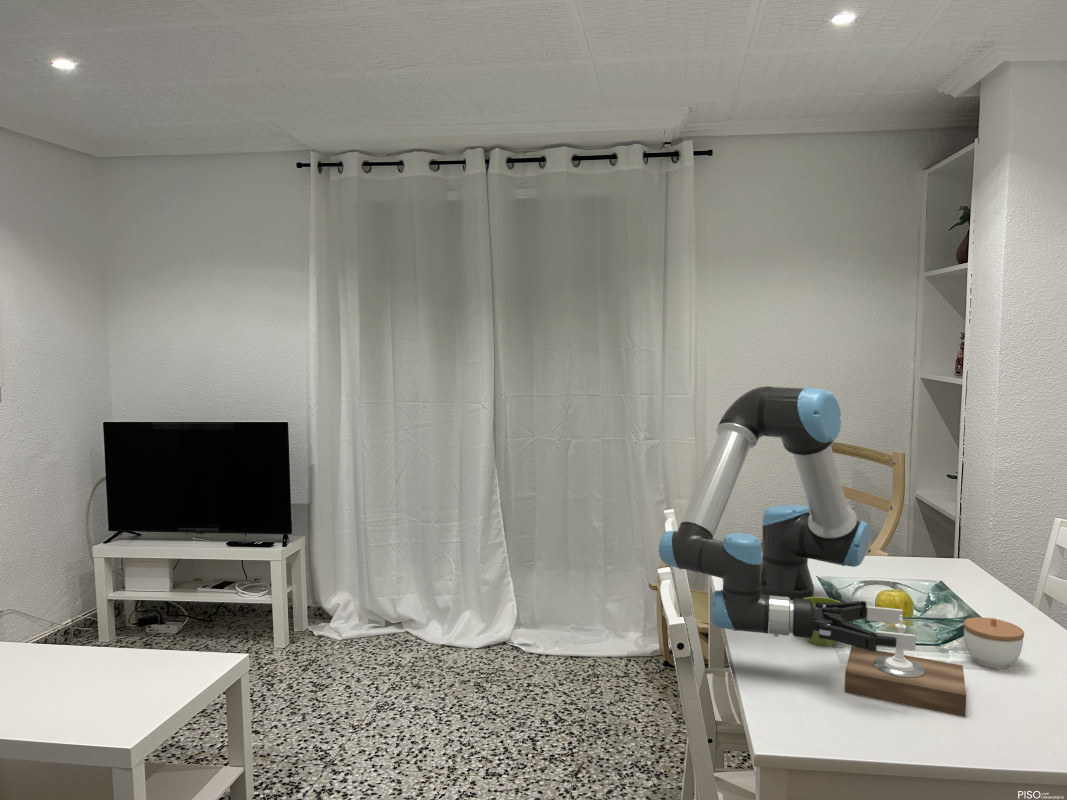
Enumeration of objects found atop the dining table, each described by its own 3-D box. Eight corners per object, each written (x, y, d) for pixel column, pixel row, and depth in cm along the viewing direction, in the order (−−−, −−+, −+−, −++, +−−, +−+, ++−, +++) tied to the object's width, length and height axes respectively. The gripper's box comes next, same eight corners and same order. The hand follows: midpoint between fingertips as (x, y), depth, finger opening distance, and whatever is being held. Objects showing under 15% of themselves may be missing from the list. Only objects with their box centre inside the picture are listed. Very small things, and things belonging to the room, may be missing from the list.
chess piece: (910, 662, 145) (912, 612, 145) (915, 673, 141) (917, 621, 140) (882, 659, 147) (884, 610, 146) (887, 669, 142) (889, 618, 141)
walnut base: (850, 664, 154) (851, 644, 154) (961, 685, 145) (962, 663, 145) (844, 692, 142) (845, 670, 142) (965, 716, 133) (966, 693, 132)
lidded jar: (950, 656, 159) (952, 613, 158) (986, 648, 162) (988, 607, 162) (997, 677, 149) (999, 631, 148) (1034, 668, 152) (1037, 624, 152)
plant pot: (795, 644, 164) (796, 606, 164) (802, 630, 173) (803, 593, 172) (841, 653, 160) (842, 613, 159) (845, 637, 168) (846, 600, 168)
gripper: (789, 613, 161) (896, 624, 155) (793, 660, 137) (920, 675, 131) (790, 579, 161) (898, 589, 154) (794, 620, 137) (922, 634, 130)
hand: (908, 629), depth 143 cm, fingers open, 13 cm apart
